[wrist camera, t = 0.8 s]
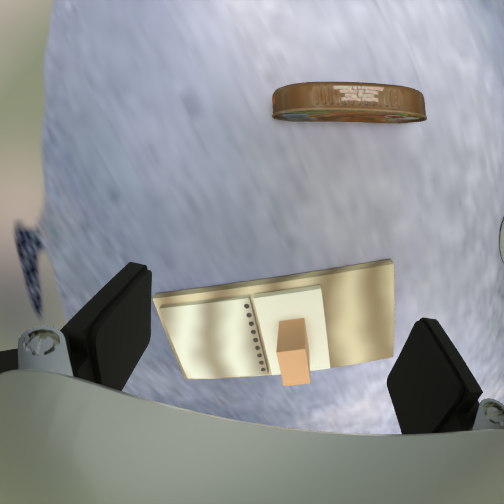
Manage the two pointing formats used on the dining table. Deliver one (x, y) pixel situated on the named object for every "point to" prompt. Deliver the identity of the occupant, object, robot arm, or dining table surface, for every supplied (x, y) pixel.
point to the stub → (293, 332)
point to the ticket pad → (248, 328)
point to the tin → (348, 103)
